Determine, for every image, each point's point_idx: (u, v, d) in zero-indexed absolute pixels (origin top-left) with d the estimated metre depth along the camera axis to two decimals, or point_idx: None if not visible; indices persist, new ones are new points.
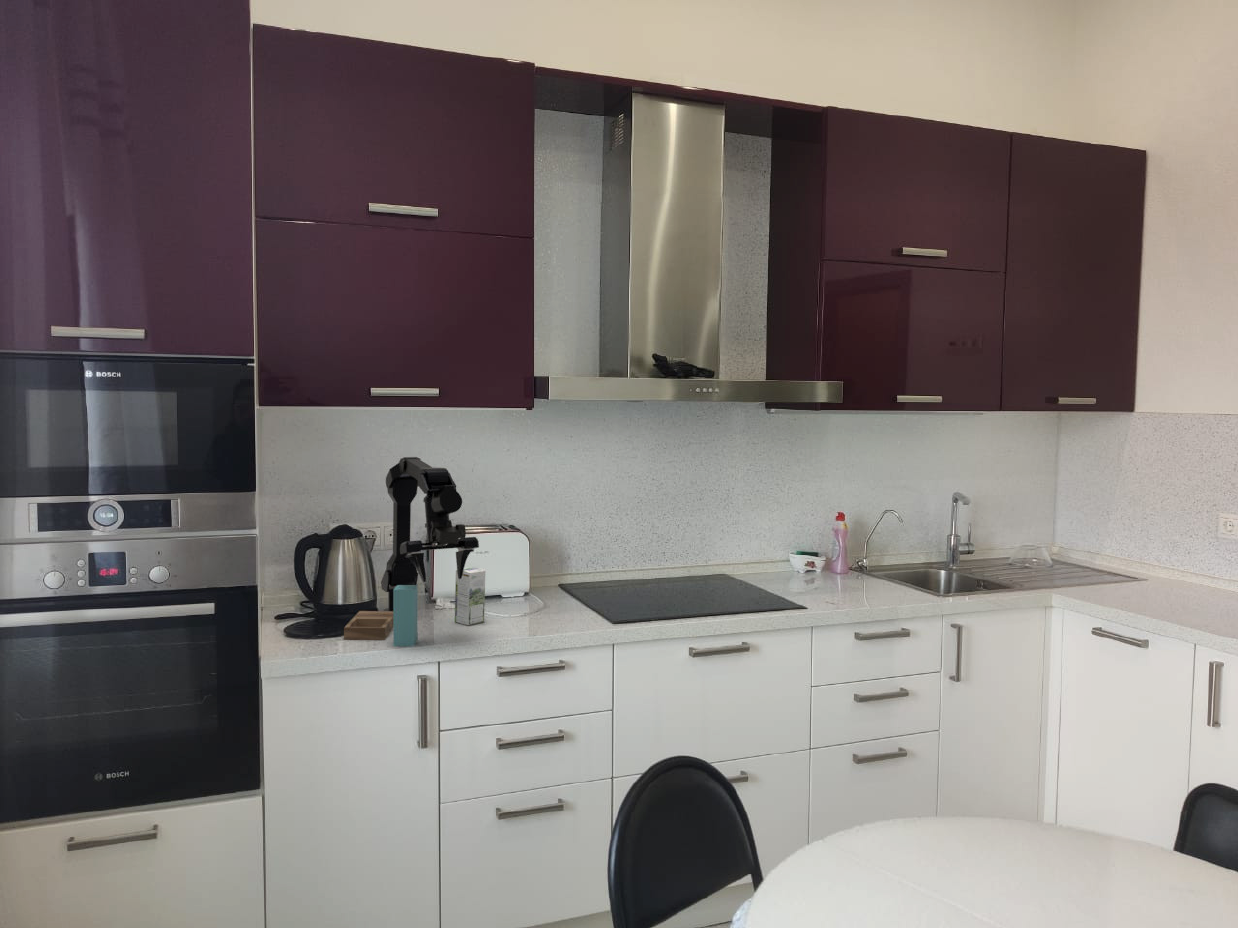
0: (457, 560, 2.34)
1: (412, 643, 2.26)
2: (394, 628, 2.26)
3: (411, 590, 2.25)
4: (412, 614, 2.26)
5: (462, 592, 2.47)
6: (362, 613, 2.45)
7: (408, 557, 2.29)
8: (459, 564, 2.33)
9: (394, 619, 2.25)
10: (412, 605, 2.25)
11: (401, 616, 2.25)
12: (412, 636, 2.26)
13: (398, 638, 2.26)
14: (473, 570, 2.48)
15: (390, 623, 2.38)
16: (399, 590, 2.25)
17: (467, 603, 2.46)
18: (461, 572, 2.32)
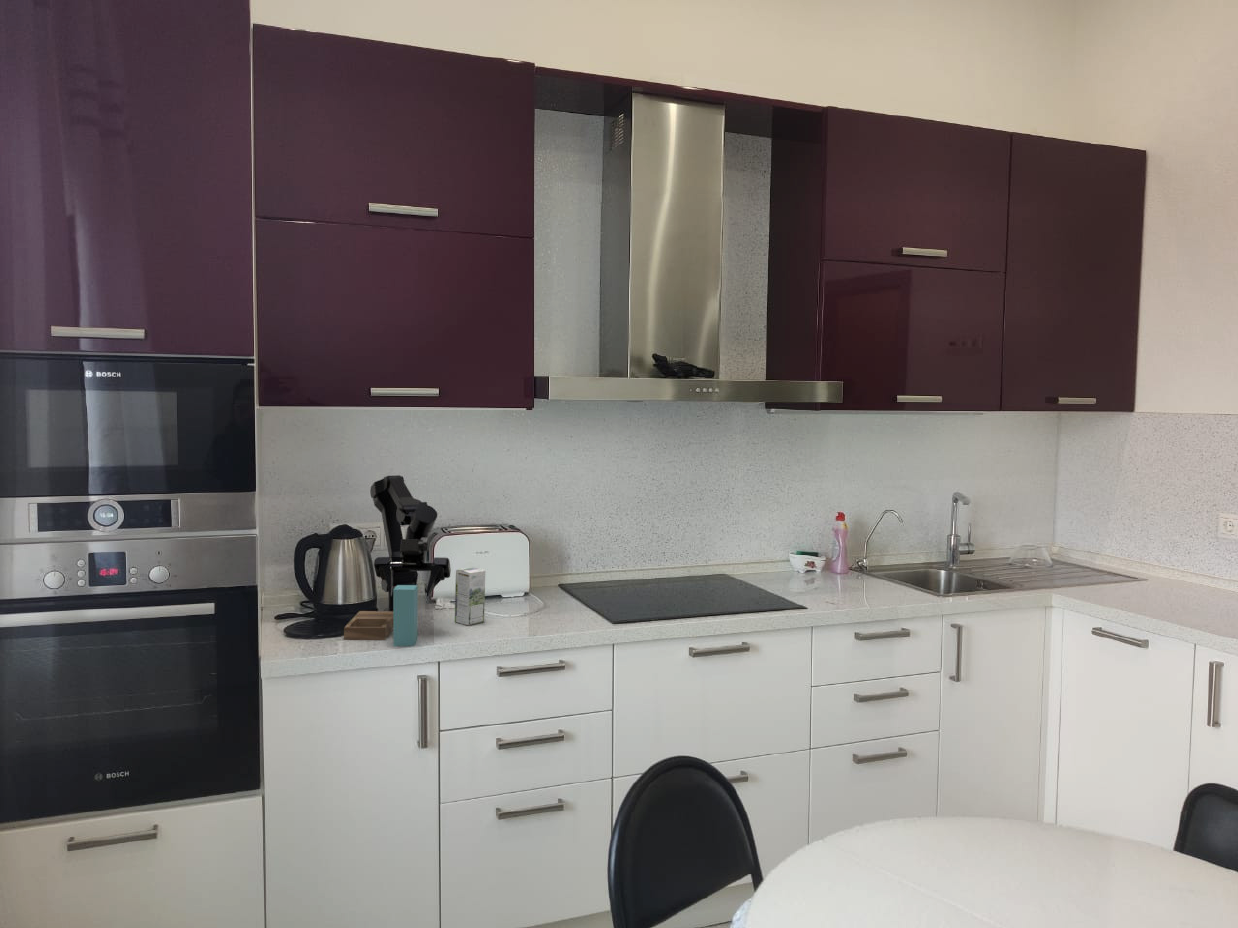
0: None
1: (412, 643, 2.26)
2: (394, 628, 2.26)
3: (411, 590, 2.25)
4: (412, 614, 2.26)
5: (462, 592, 2.47)
6: (362, 613, 2.45)
7: (384, 579, 2.38)
8: None
9: (394, 619, 2.25)
10: (412, 605, 2.25)
11: (401, 616, 2.25)
12: (412, 636, 2.26)
13: (398, 638, 2.26)
14: (473, 570, 2.48)
15: (390, 623, 2.38)
16: (399, 590, 2.25)
17: (467, 603, 2.46)
18: (428, 588, 2.32)
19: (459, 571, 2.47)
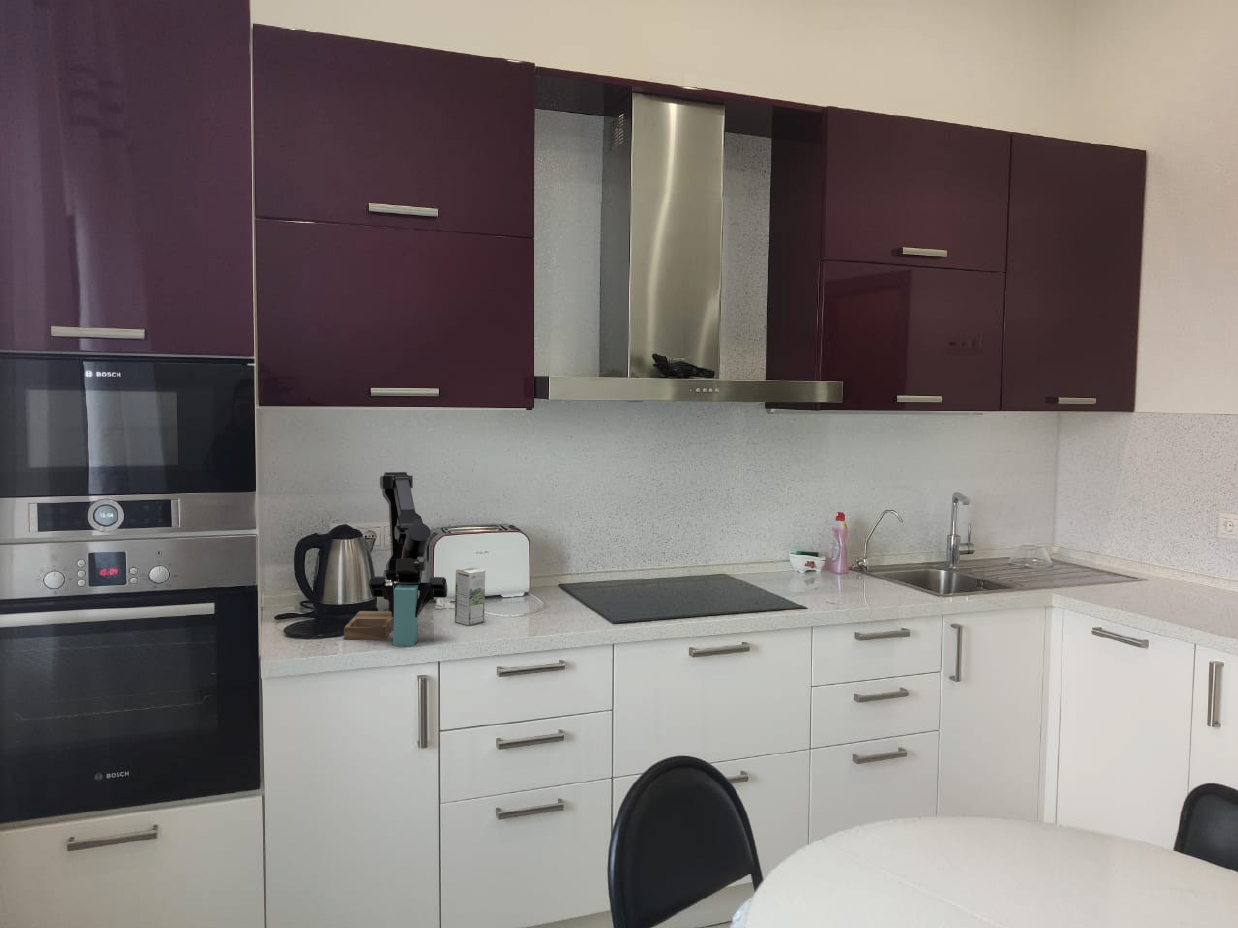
0: None
1: (412, 643, 2.26)
2: (394, 628, 2.26)
3: (412, 590, 2.25)
4: (412, 614, 2.26)
5: (462, 592, 2.47)
6: (362, 613, 2.45)
7: (387, 599, 2.33)
8: None
9: (394, 619, 2.25)
10: (413, 605, 2.25)
11: (401, 616, 2.25)
12: (412, 636, 2.26)
13: (398, 638, 2.26)
14: (473, 570, 2.48)
15: (390, 623, 2.38)
16: (400, 590, 2.25)
17: (467, 603, 2.46)
18: (417, 609, 2.27)
19: (459, 571, 2.47)
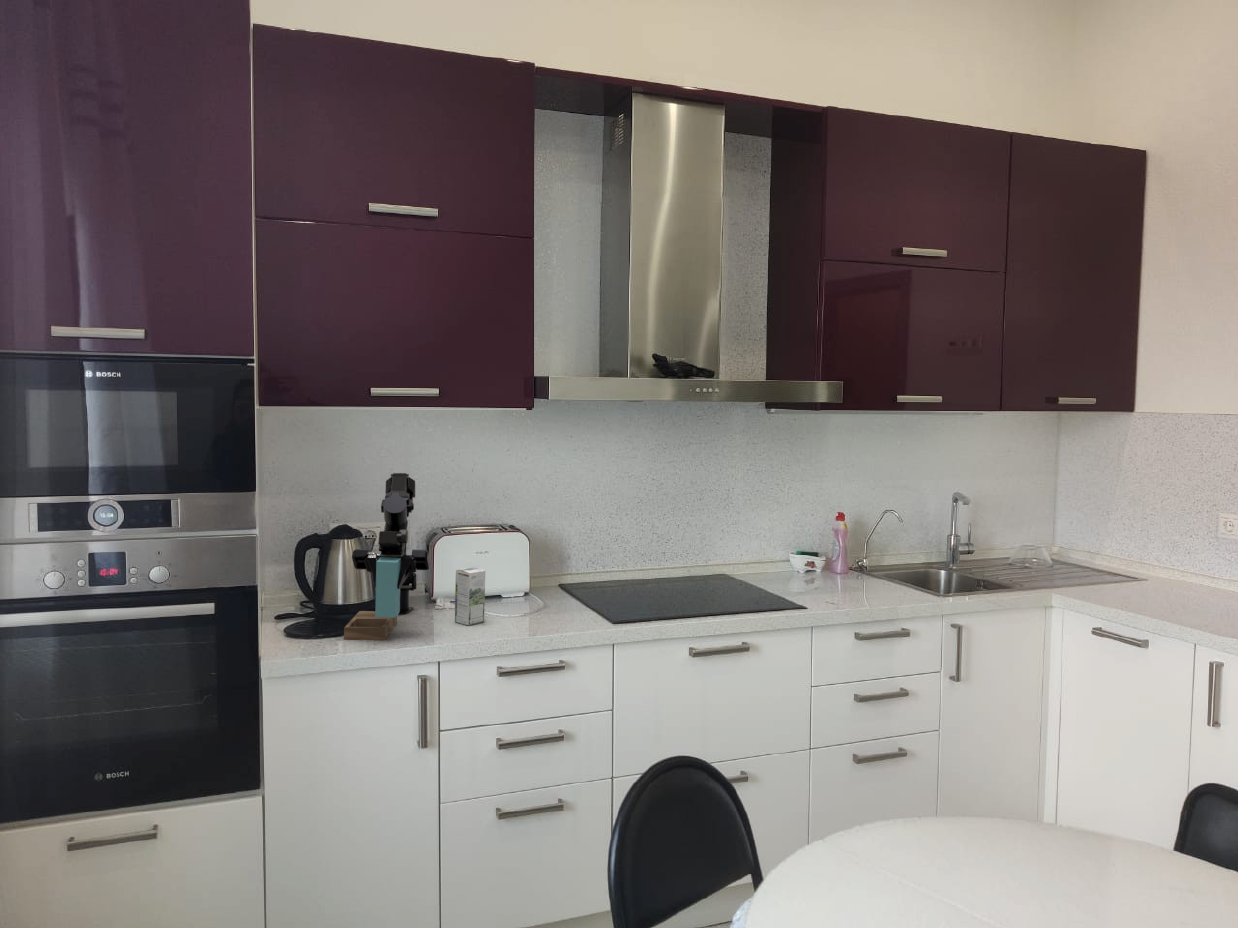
0: None
1: (394, 615, 2.30)
2: (376, 599, 2.29)
3: (394, 563, 2.28)
4: (394, 586, 2.29)
5: (462, 592, 2.47)
6: (362, 613, 2.45)
7: (370, 571, 2.36)
8: None
9: (376, 591, 2.29)
10: (394, 577, 2.28)
11: (383, 588, 2.29)
12: (394, 608, 2.29)
13: (380, 609, 2.29)
14: (473, 570, 2.48)
15: (390, 623, 2.38)
16: (382, 562, 2.28)
17: (467, 603, 2.46)
18: (399, 581, 2.30)
19: (459, 571, 2.47)
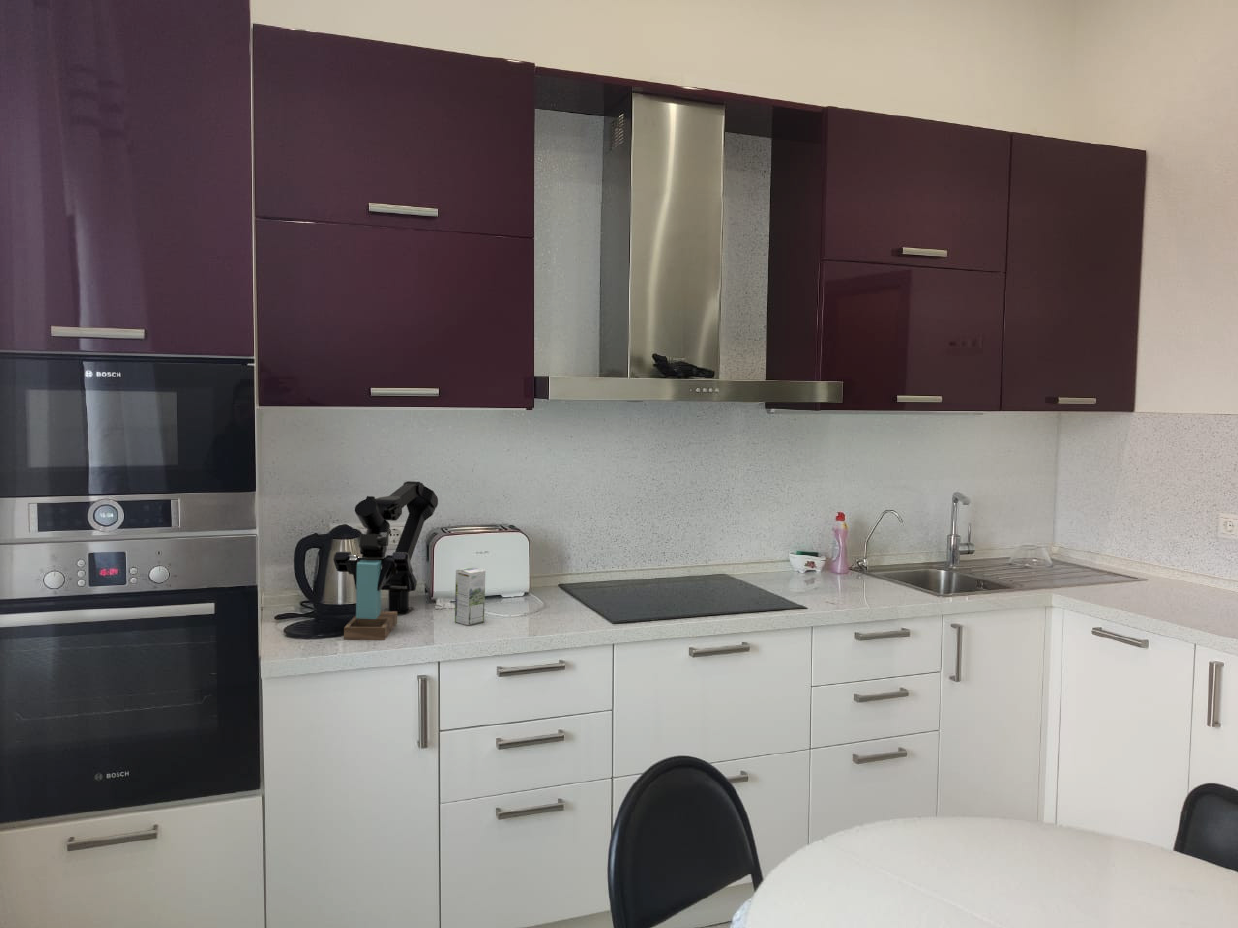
0: None
1: (374, 616, 2.33)
2: (357, 601, 2.33)
3: (374, 565, 2.32)
4: (374, 588, 2.32)
5: (462, 592, 2.47)
6: None
7: None
8: None
9: (357, 592, 2.32)
10: (375, 579, 2.32)
11: (363, 590, 2.32)
12: (374, 609, 2.33)
13: (360, 611, 2.33)
14: (473, 570, 2.48)
15: (390, 623, 2.38)
16: (362, 565, 2.32)
17: (467, 603, 2.46)
18: (379, 583, 2.34)
19: (459, 571, 2.47)
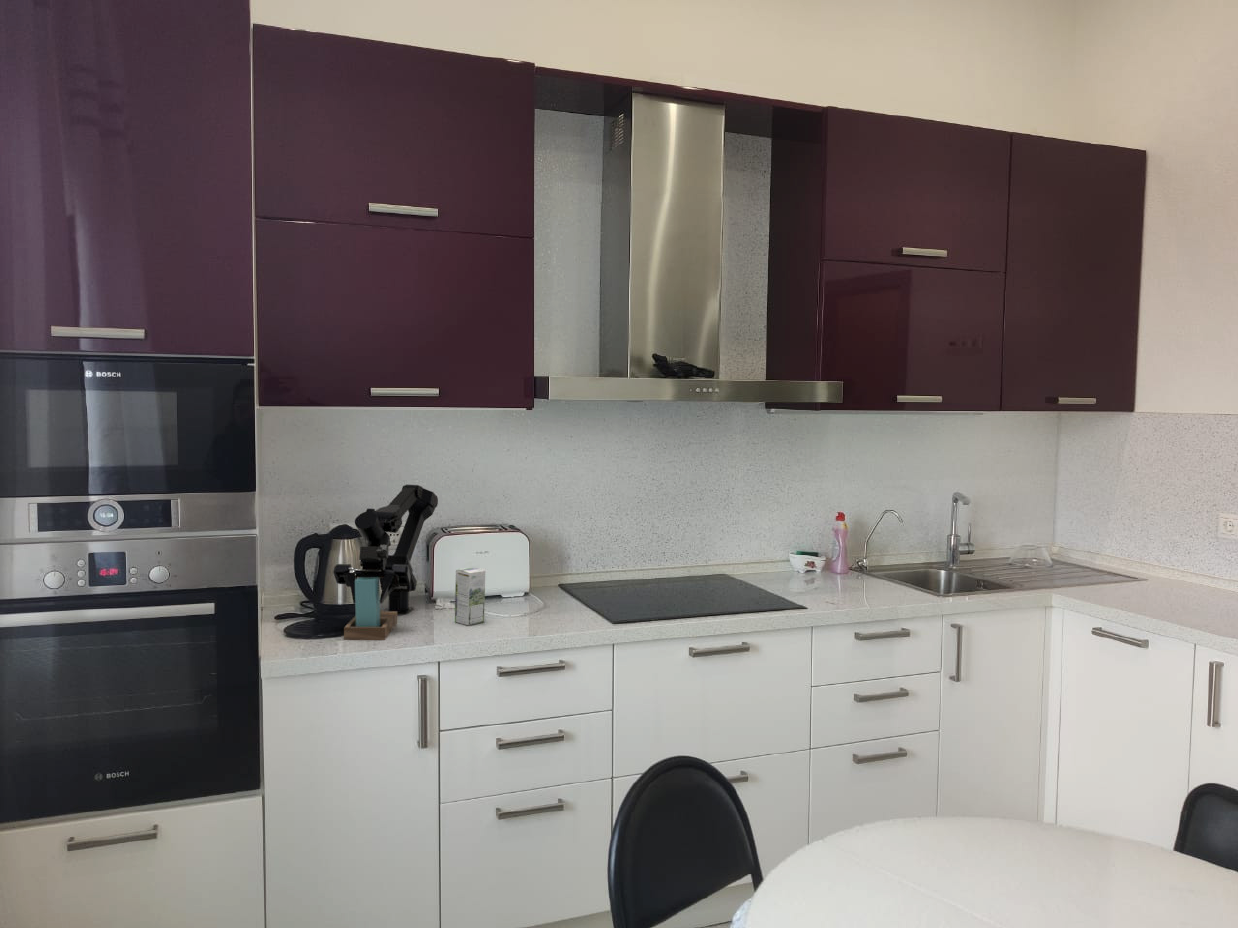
0: None
1: None
2: (356, 618, 2.33)
3: (372, 580, 2.33)
4: (373, 604, 2.33)
5: (462, 592, 2.47)
6: None
7: (349, 586, 2.40)
8: None
9: (356, 609, 2.33)
10: (373, 595, 2.33)
11: (362, 606, 2.33)
12: (374, 625, 2.34)
13: None
14: (473, 570, 2.48)
15: (390, 623, 2.38)
16: (360, 581, 2.33)
17: (467, 603, 2.46)
18: (382, 595, 2.34)
19: (459, 571, 2.47)
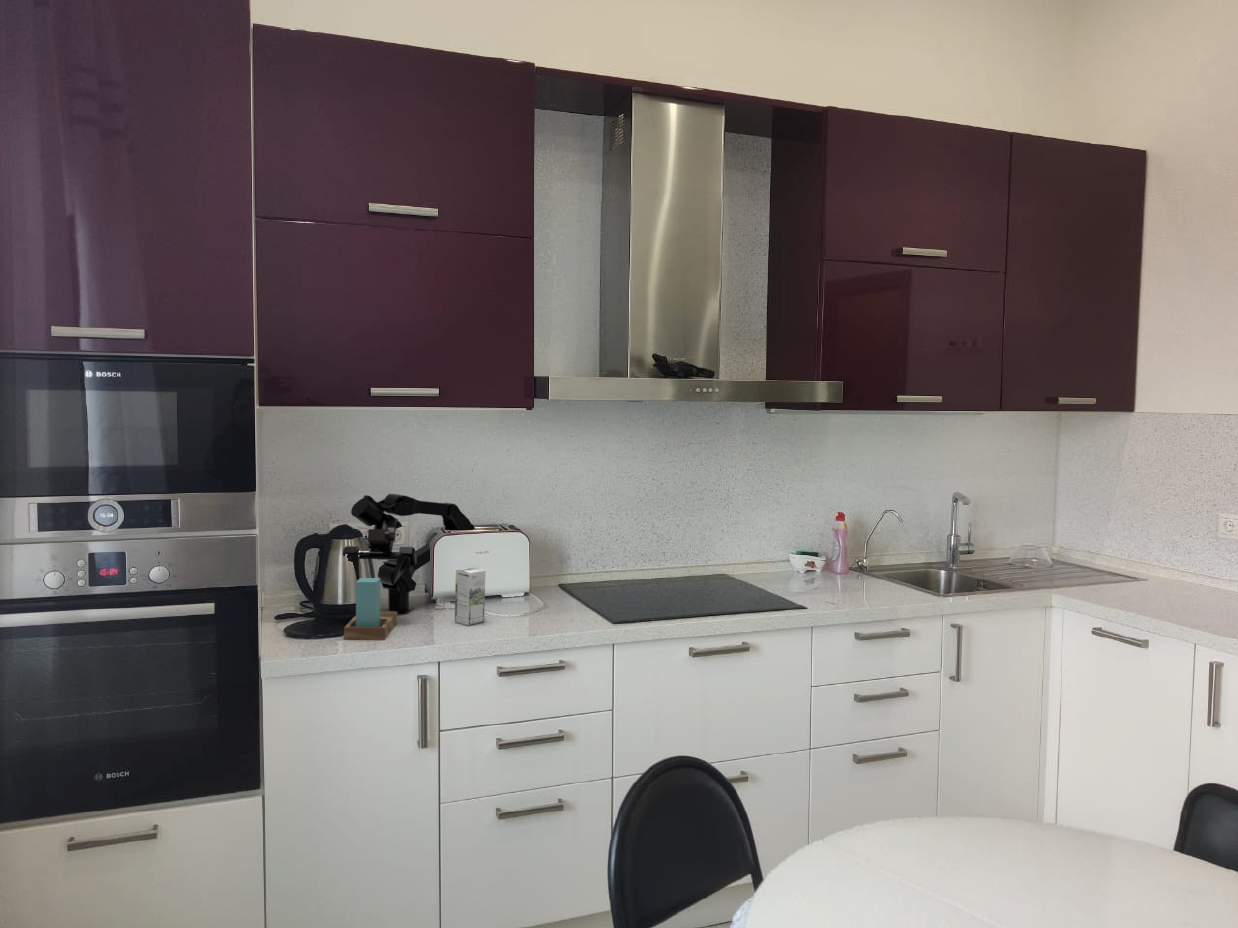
0: None
1: None
2: (357, 619, 2.33)
3: (373, 583, 2.33)
4: (374, 606, 2.33)
5: (462, 592, 2.47)
6: None
7: None
8: None
9: (357, 611, 2.33)
10: (374, 597, 2.33)
11: (363, 608, 2.33)
12: None
13: None
14: (473, 570, 2.48)
15: (390, 623, 2.38)
16: (361, 583, 2.32)
17: (467, 603, 2.46)
18: (394, 576, 2.44)
19: (459, 571, 2.47)
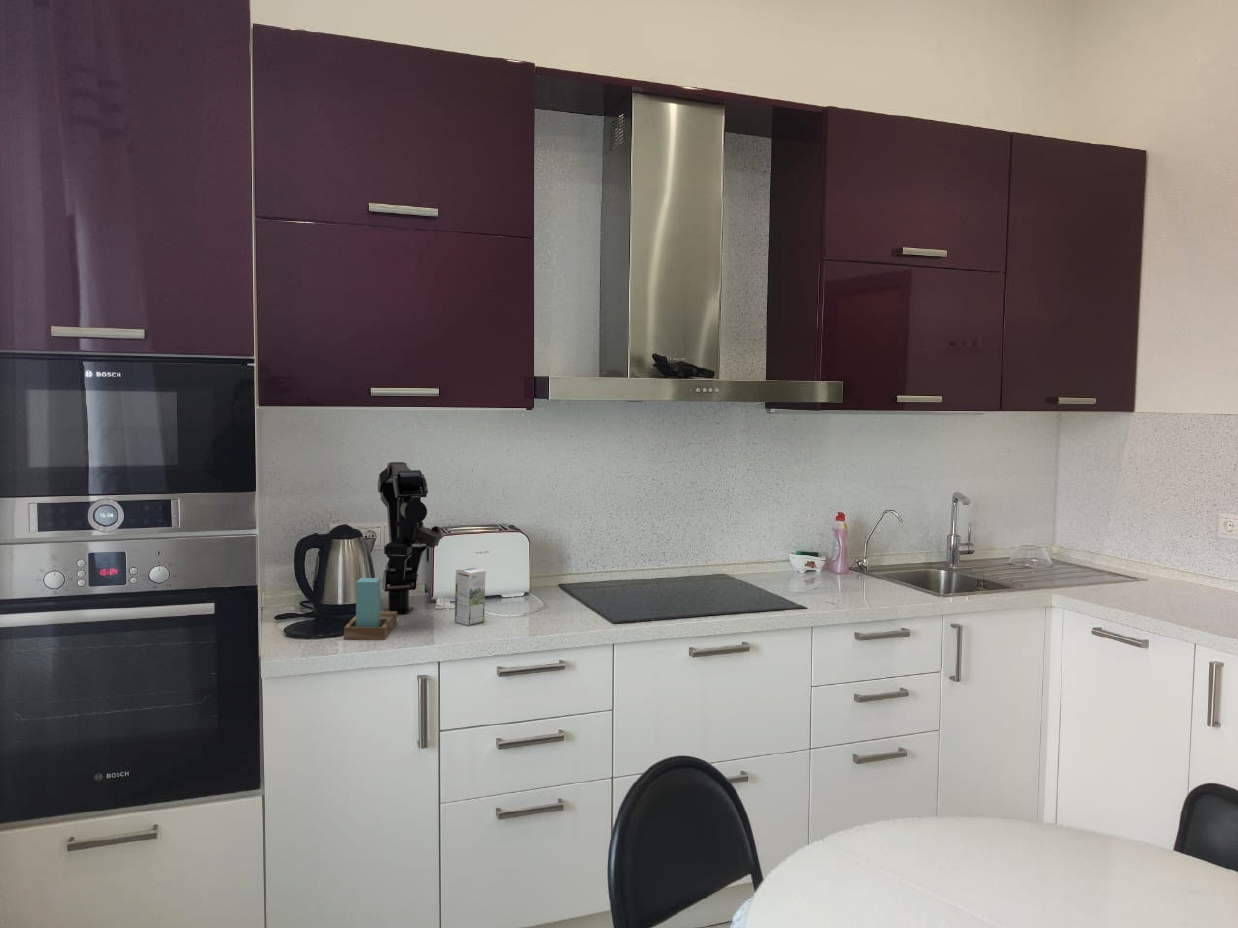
0: (410, 555, 2.50)
1: None
2: (357, 619, 2.33)
3: (373, 583, 2.33)
4: (374, 606, 2.33)
5: (462, 592, 2.47)
6: None
7: (387, 556, 2.38)
8: (415, 559, 2.49)
9: (357, 611, 2.33)
10: (374, 597, 2.33)
11: (363, 608, 2.33)
12: None
13: None
14: (473, 570, 2.48)
15: (390, 623, 2.38)
16: (361, 582, 2.32)
17: (467, 603, 2.46)
18: (418, 567, 2.50)
19: (459, 571, 2.47)
